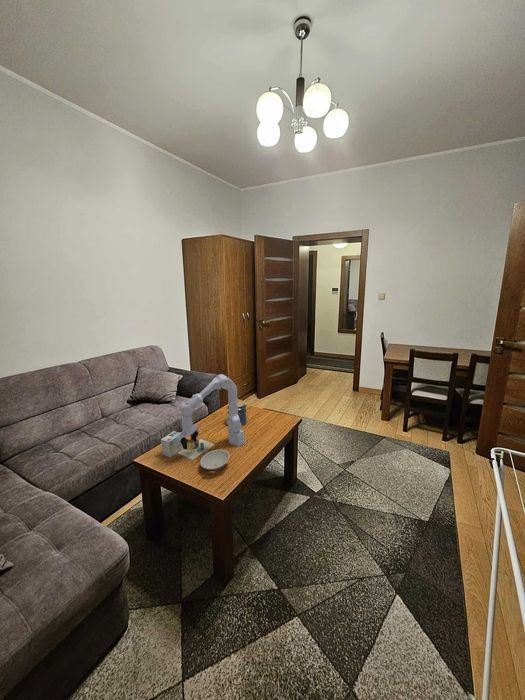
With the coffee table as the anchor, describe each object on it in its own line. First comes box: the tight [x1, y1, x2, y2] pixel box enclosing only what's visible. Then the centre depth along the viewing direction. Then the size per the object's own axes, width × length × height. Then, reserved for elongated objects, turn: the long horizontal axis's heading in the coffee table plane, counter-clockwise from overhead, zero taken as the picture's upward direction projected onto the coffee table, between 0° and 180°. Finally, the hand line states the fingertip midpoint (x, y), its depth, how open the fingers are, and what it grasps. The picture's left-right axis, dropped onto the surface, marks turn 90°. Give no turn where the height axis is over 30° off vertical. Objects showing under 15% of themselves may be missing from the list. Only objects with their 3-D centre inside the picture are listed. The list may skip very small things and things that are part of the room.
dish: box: [199, 449, 231, 471], centre depth 154 cm, size 18×14×5 cm
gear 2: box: [193, 438, 200, 449], centre depth 172 cm, size 6×6×4 cm
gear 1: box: [187, 438, 195, 450], centre depth 163 cm, size 6×6×4 cm
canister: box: [227, 398, 248, 426], centre depth 201 cm, size 13×13×18 cm
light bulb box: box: [160, 430, 184, 458], centre depth 167 cm, size 11×7×11 cm, turn 152°
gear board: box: [177, 438, 215, 460], centre depth 169 cm, size 13×18×5 cm
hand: (189, 446), depth 164 cm, fingers closed on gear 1, 6 cm apart
